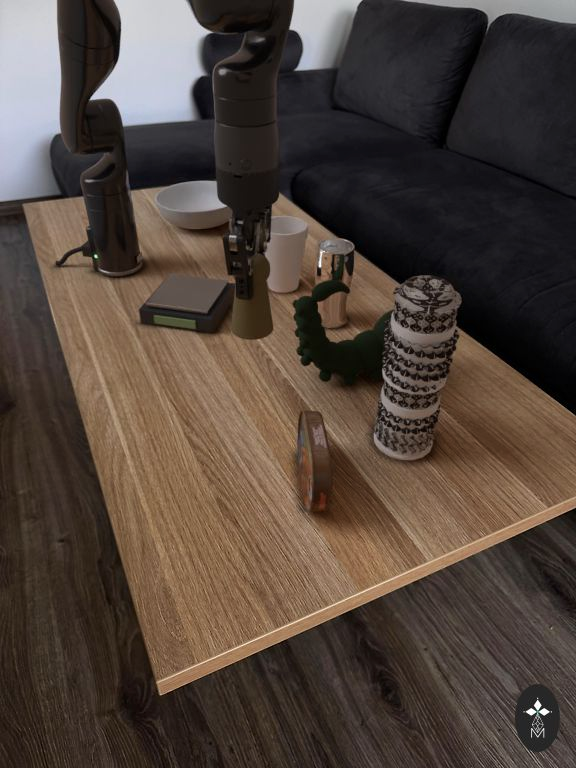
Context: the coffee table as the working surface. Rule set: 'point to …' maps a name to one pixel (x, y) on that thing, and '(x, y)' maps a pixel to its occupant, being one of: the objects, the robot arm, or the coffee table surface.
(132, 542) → the coffee table surface
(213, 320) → the scale
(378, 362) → the toy figurine
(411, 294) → the white patterned cylinder
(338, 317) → the shiny silver cylinder
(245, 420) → the coffee table surface
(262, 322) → the olive game pawn
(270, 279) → the foam cup
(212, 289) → the scale platform
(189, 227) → the serving bowl
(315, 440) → the tin
